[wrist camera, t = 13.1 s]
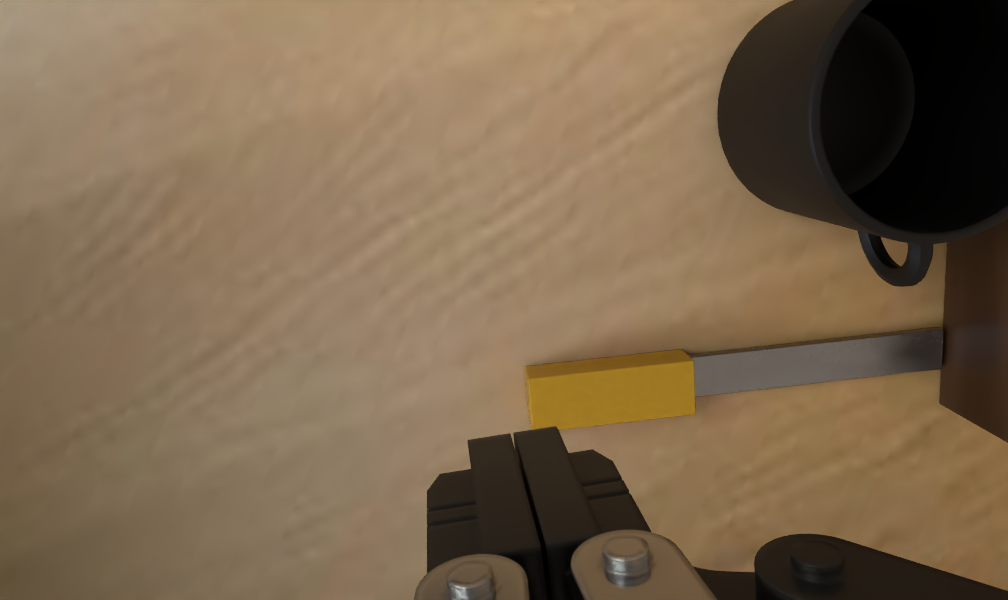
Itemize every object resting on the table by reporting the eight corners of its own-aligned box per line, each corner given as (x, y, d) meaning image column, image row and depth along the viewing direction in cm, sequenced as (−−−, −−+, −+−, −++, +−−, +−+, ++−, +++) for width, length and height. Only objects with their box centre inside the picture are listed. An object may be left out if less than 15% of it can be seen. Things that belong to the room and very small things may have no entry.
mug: (741, 289, 36) (840, 344, 27) (696, 23, 33) (790, -12, 24) (936, 239, 36) (1097, 278, 27) (908, -30, 33) (1078, -85, 24)
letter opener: (528, 418, 36) (532, 433, 34) (523, 366, 36) (528, 378, 34) (935, 372, 37) (959, 384, 36) (937, 320, 37) (962, 330, 35)
